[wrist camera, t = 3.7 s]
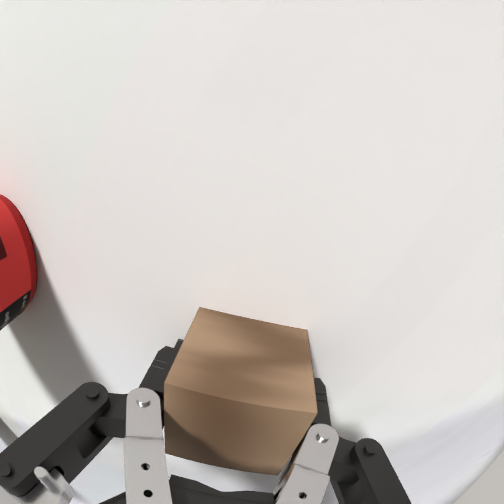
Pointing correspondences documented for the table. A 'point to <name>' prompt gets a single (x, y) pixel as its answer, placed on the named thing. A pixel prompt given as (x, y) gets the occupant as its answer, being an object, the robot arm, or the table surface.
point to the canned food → (15, 263)
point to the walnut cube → (239, 393)
